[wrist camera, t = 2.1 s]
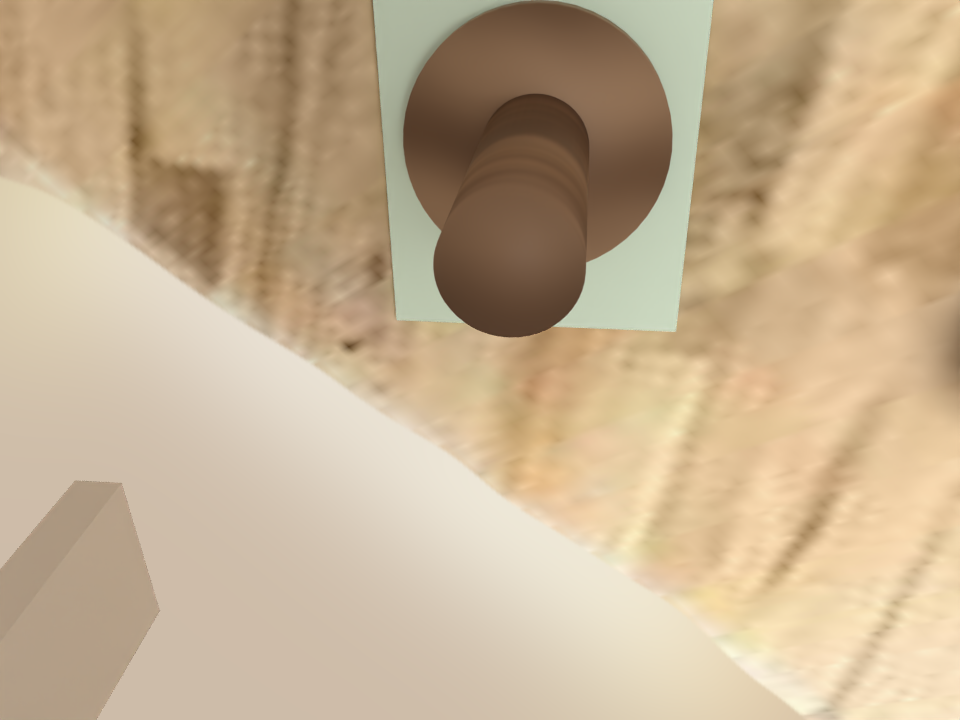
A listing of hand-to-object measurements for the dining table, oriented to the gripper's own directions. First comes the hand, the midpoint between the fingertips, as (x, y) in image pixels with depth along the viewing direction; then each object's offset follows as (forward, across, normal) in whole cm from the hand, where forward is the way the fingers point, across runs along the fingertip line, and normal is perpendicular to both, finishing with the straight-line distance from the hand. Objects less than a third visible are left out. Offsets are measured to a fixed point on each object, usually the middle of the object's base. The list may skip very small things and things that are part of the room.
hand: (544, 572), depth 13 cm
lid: (+23, -1, 0) cm, 23 cm away
